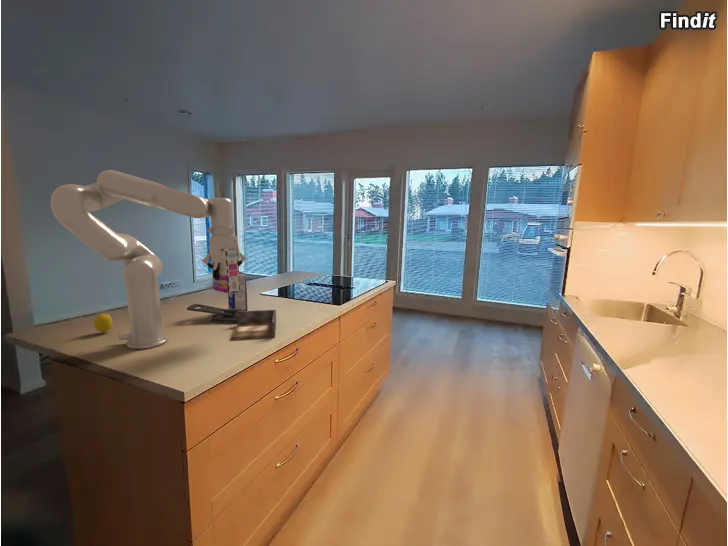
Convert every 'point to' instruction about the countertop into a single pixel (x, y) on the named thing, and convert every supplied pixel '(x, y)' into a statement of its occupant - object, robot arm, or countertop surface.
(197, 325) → the countertop surface
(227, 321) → the dark grey spatula
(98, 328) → the lemon
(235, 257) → the candy bar box
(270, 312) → the brown square tray
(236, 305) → the milk carton
